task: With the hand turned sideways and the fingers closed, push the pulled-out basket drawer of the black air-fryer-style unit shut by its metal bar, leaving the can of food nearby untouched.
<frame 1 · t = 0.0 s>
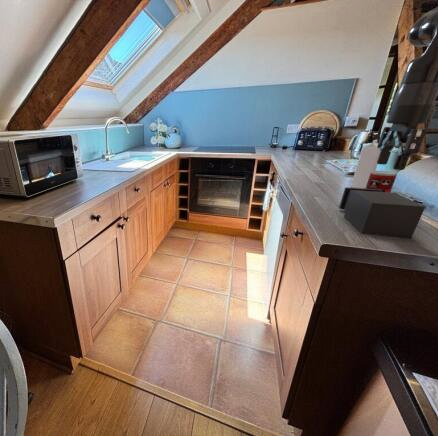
hand: (389, 166, 69), 19 cm above the countertop, tool pointing down, fingers open, 8 cm apart
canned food: (374, 198, 102), on the countertop
milk: (359, 187, 118), on the countertop
fryer: (374, 226, 76), on the countertop
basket: (364, 202, 83), point 5 cm above the countertop, slide at 6.0 cm
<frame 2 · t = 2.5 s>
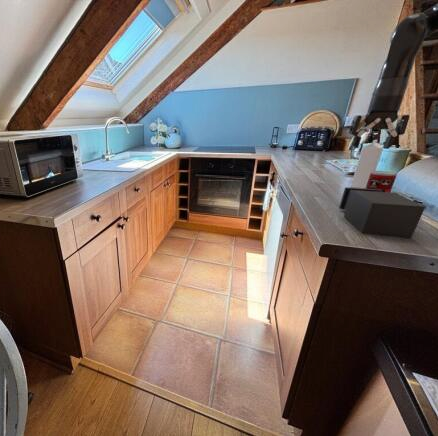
hand: (370, 148, 83), 22 cm above the countertop, tool pointing down, fingers open, 8 cm apart
nothing on the countertop moved.
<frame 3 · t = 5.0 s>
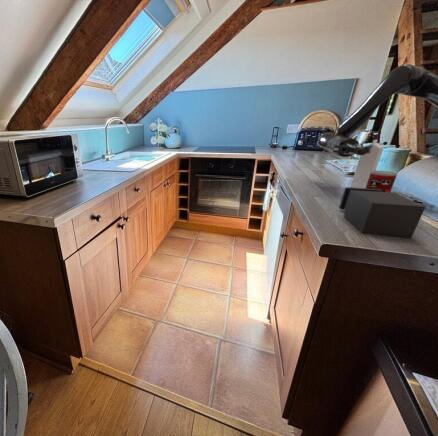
hand: (362, 152, 88), 20 cm above the countertop, tool horizontal, fingers closed
nothing on the countertop moved.
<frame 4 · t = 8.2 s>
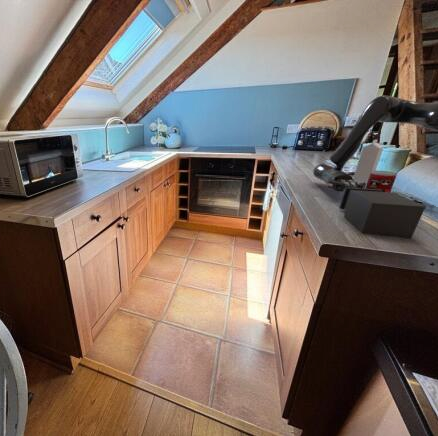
hand: (355, 191, 90), 7 cm above the countertop, tool horizontal, fingers closed
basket: (364, 202, 83), point 5 cm above the countertop, slide at 6.0 cm, touching gripper
everything else where it was.
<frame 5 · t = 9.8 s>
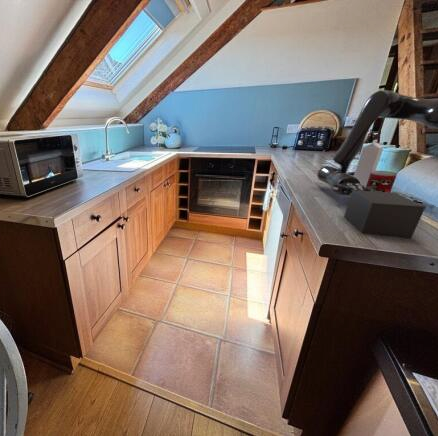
hand: (363, 195, 84), 7 cm above the countertop, tool horizontal, fingers closed
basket: (373, 208, 78), point 5 cm above the countertop, slide at 0.0 cm, touching fryer, gripper
everything else where it was.
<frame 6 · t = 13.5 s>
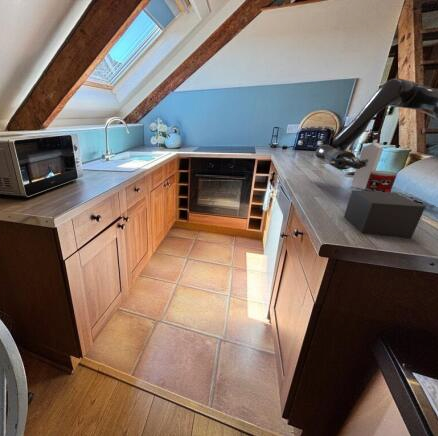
hand: (358, 166, 90), 15 cm above the countertop, tool horizontal, fingers closed
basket: (373, 208, 78), point 5 cm above the countertop, slide at 0.0 cm, touching fryer
everything else where it was.
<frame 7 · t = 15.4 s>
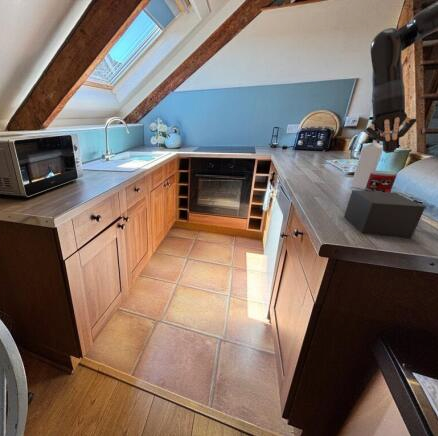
hand: (389, 152, 81), 21 cm above the countertop, tool tilted 15°, fingers closed
nothing on the countertop moved.
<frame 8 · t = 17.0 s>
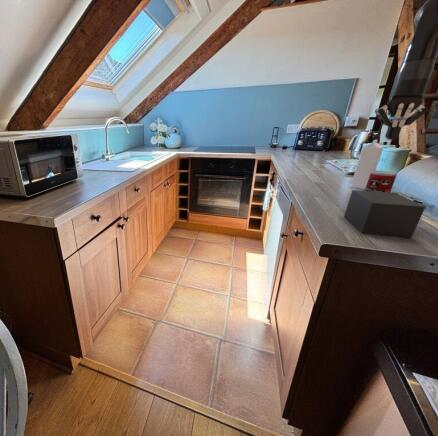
hand: (390, 139, 79), 25 cm above the countertop, tool pointing down, fingers closed
nothing on the countertop moved.
at the end: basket slide at 0.0 cm; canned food moved 0.2 cm from its start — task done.
